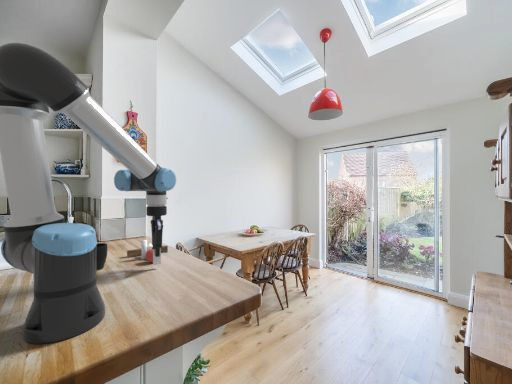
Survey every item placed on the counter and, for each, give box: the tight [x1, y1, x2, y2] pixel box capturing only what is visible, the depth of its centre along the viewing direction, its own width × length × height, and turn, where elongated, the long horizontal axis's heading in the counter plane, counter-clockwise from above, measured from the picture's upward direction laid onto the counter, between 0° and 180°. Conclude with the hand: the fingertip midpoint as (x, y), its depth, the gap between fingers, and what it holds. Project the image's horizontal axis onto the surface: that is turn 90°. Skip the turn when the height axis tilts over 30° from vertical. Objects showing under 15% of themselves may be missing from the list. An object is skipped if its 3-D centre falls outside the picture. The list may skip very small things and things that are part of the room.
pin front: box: [147, 242, 153, 251], centre depth 110 cm, size 2×2×8 cm
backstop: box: [126, 245, 169, 259], centre depth 116 cm, size 2×18×3 cm, turn 122°
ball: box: [145, 249, 153, 264], centre depth 103 cm, size 6×6×6 cm
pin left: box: [140, 239, 148, 261], centre depth 108 cm, size 2×2×8 cm
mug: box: [96, 242, 108, 272], centre depth 96 cm, size 8×12×10 cm
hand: (156, 263), depth 95 cm, fingers closed
